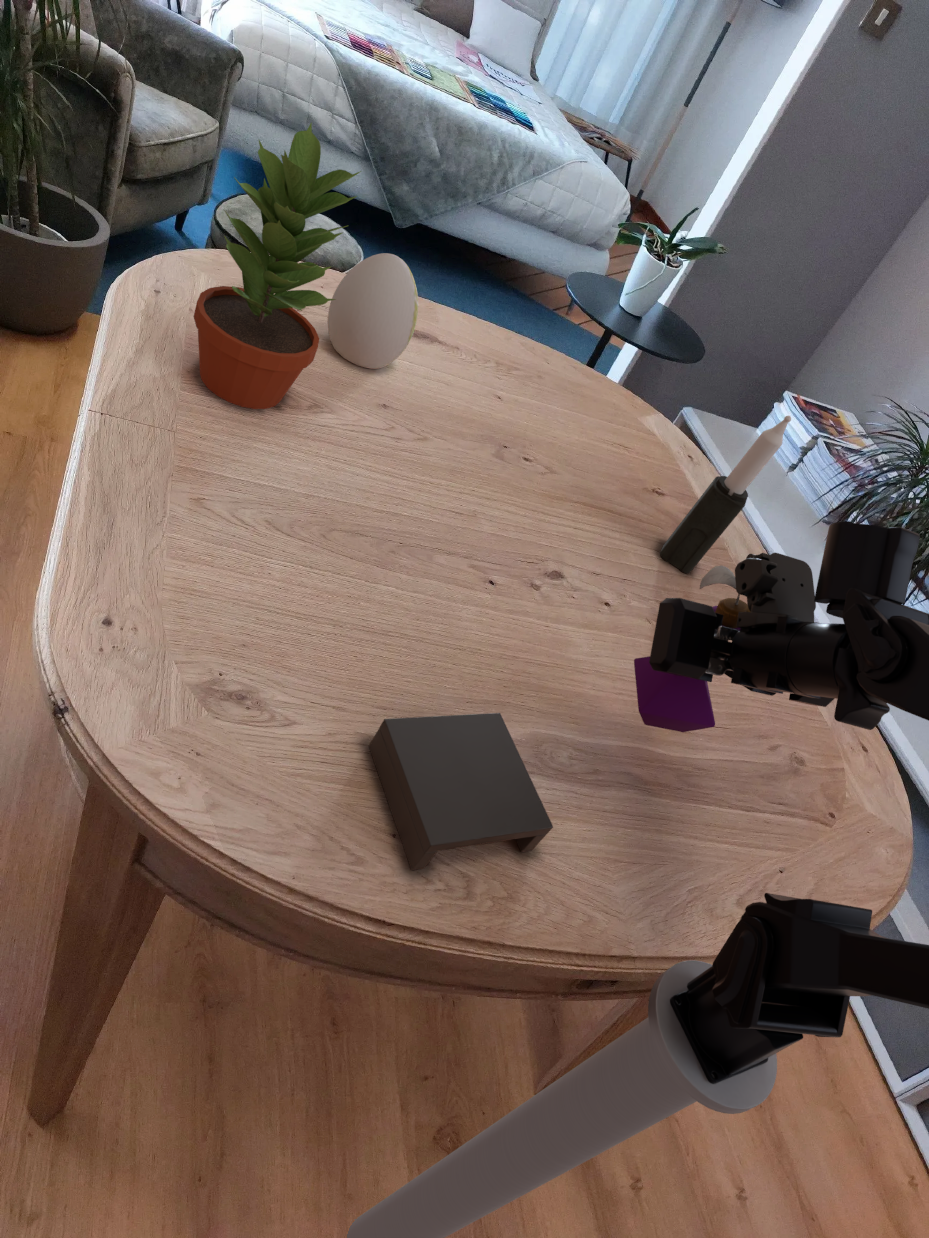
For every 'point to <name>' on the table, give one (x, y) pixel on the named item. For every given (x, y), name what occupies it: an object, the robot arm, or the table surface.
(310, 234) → the potted plant
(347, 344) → the decorative egg
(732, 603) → the perfume bottle
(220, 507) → the table surface
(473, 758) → the shelf
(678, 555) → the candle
